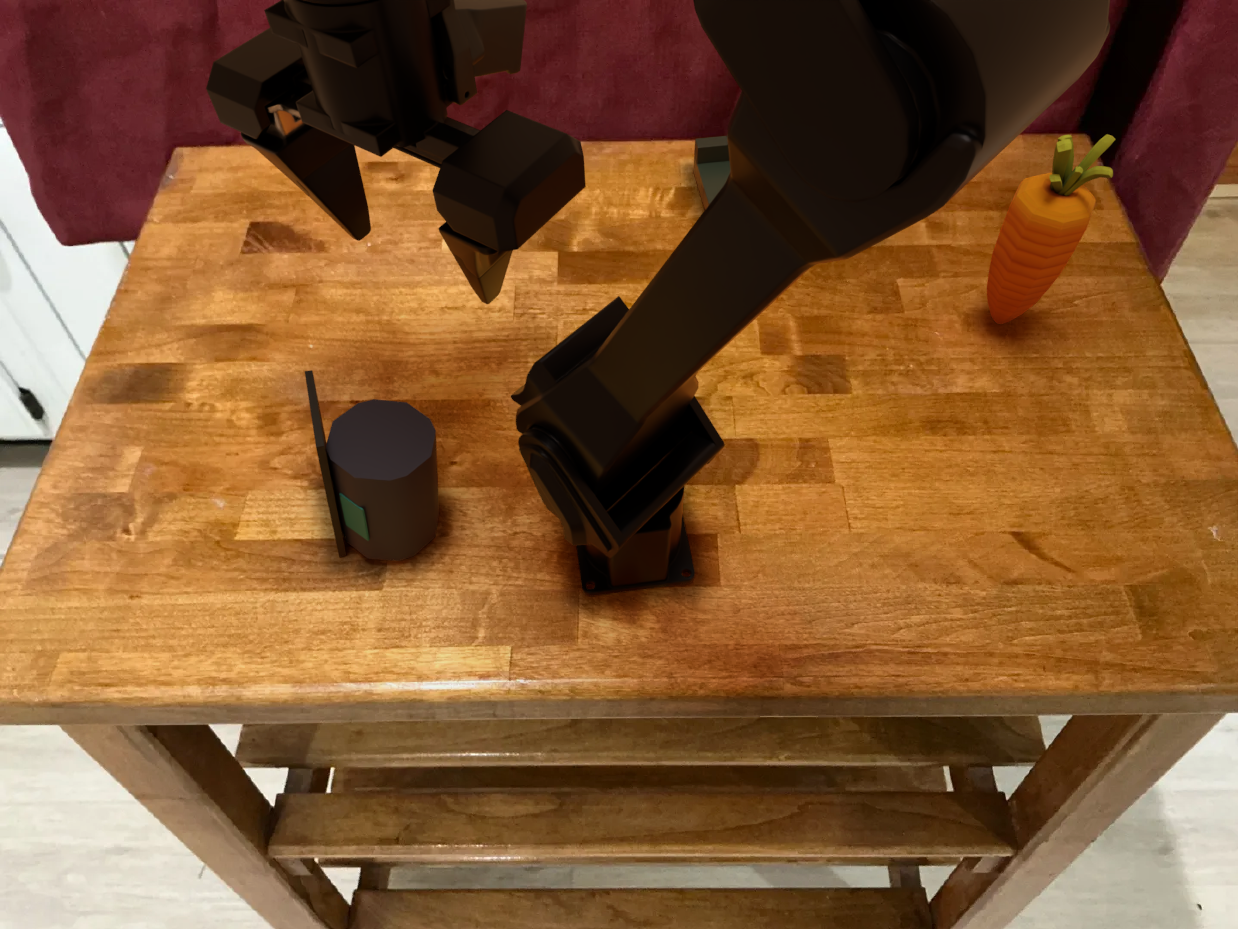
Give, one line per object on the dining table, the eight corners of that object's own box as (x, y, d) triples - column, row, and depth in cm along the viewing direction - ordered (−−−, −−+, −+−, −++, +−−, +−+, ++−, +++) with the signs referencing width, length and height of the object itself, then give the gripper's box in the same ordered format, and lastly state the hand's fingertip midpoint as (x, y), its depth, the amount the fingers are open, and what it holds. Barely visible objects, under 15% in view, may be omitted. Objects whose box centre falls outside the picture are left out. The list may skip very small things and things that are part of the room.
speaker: (304, 563, 53) (265, 452, 44) (328, 484, 56) (297, 368, 48) (435, 575, 53) (420, 467, 45) (451, 496, 56) (440, 382, 48)
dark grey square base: (872, 236, 69) (881, 204, 66) (717, 252, 68) (720, 220, 66) (836, 156, 75) (843, 124, 72) (692, 170, 74) (695, 138, 71)
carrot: (1028, 299, 65) (1121, 111, 52) (1040, 350, 62) (1141, 164, 50) (957, 295, 65) (1033, 106, 53) (966, 346, 62) (1048, 159, 50)
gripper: (653, -54, 37) (650, 244, 50) (325, -151, 43) (397, 135, 56) (482, 75, 32) (527, 372, 44) (137, -57, 38) (263, 236, 51)
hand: (425, 265), depth 49 cm, fingers open, 9 cm apart
